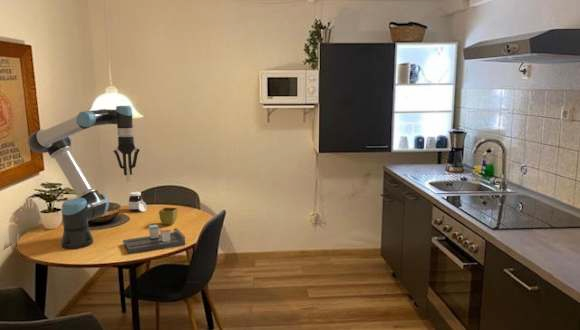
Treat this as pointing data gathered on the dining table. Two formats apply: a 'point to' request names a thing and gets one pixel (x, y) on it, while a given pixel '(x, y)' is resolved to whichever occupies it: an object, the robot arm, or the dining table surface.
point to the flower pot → (168, 215)
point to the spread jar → (137, 202)
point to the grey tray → (153, 242)
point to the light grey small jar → (154, 231)
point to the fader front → (165, 234)
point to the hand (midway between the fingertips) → (128, 181)
